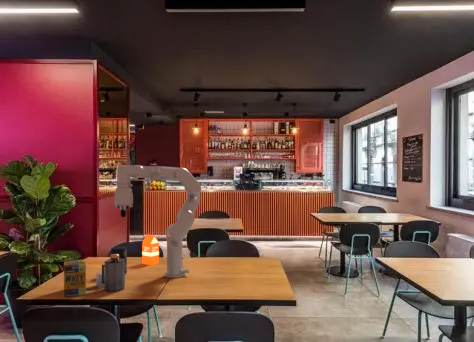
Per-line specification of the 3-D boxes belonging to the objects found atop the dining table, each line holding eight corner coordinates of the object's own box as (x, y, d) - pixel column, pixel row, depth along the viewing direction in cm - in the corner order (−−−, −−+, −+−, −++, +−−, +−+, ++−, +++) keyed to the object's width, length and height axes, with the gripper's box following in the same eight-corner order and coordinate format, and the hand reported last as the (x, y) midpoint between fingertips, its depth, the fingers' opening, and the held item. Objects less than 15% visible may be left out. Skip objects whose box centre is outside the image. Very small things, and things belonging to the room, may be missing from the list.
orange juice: (150, 261, 283) (150, 233, 283) (159, 263, 278) (159, 234, 278) (141, 263, 277) (142, 235, 277) (150, 265, 272) (150, 236, 272)
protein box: (63, 297, 200) (63, 266, 200) (63, 289, 214) (64, 260, 214) (85, 295, 204) (86, 265, 204) (84, 287, 218) (84, 259, 218)
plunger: (123, 277, 218) (123, 253, 218) (118, 280, 211) (119, 256, 211) (110, 277, 219) (110, 253, 219) (105, 280, 211) (105, 255, 212)
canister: (122, 276, 240) (122, 247, 241) (107, 276, 242) (108, 246, 243) (129, 273, 250) (129, 244, 250) (115, 272, 252) (115, 244, 252)
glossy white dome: (111, 284, 224) (111, 271, 225) (106, 287, 217) (106, 274, 218) (99, 284, 225) (99, 271, 225) (94, 287, 218) (94, 274, 218)
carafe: (126, 286, 219) (127, 258, 220) (120, 291, 209) (120, 262, 210) (105, 286, 220) (105, 258, 220) (98, 291, 210) (98, 262, 210)
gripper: (137, 185, 238) (137, 216, 238) (113, 185, 239) (113, 216, 238) (134, 186, 230) (133, 217, 230) (108, 186, 231) (108, 217, 231)
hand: (123, 216), depth 234 cm, fingers closed
